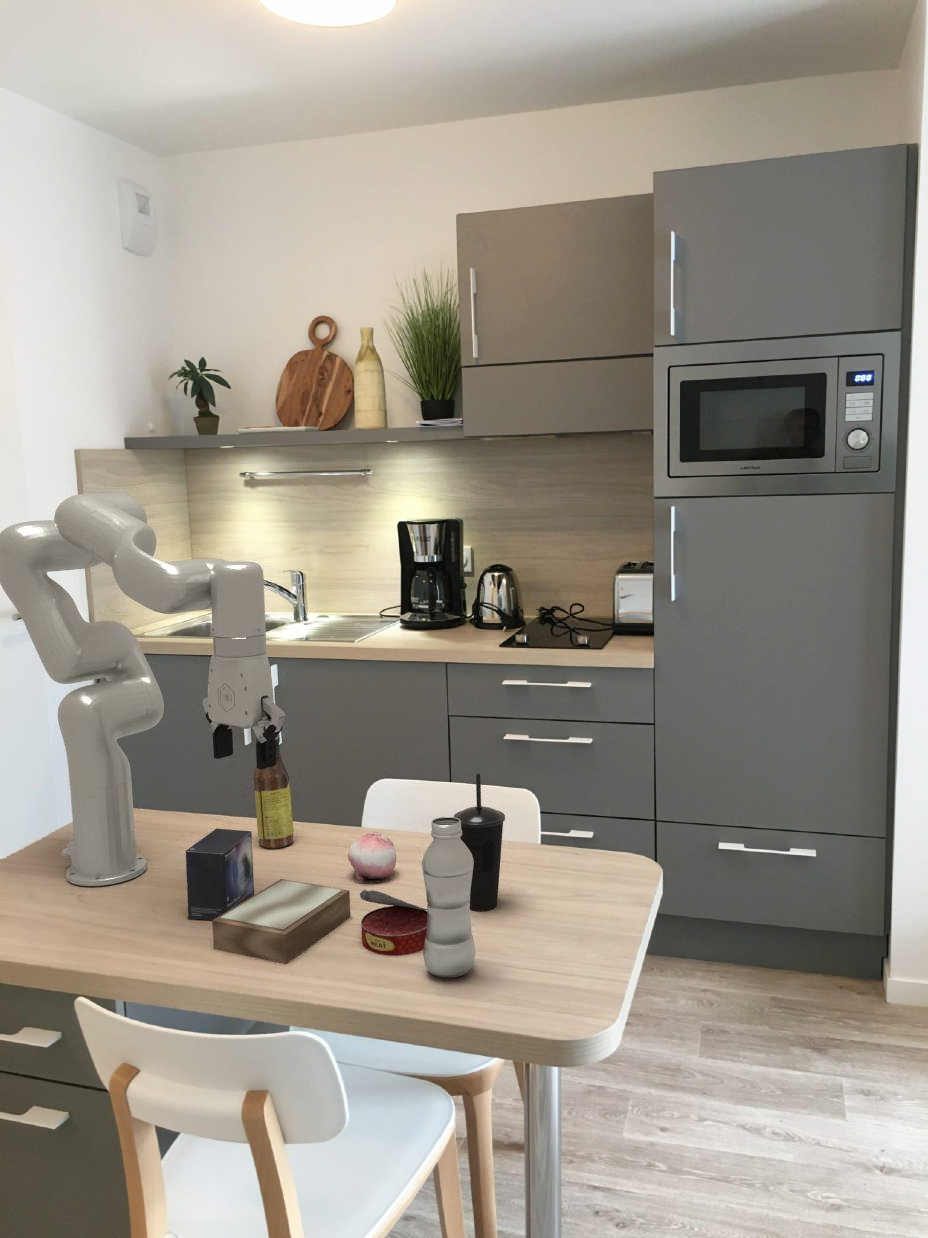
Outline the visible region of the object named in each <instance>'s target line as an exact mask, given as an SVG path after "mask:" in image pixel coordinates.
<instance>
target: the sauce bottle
mask: <svg viewBox="0 0 928 1238" xmlns="http://www.w3.org/2000/svg"><path fill="white" fill-rule="evenodd" d="M278 735H279V737H278V739H275V740H276V765H275V766H272V767H268V768H265V769H262V770H260V769H258V768H257V767H255V770H254V772H253V782H254V783H253V785H254V789H253V790H254V801H255V814H256V826H257V837H258V843H259V845H260V846H261V847H263V848H266V849H280V848H284V847H286V846H288V845H291V844H293V841H294V832H295V830H294V821H293V804H292V795H291V783H290V782H291V781H290V776H289V773H288V771H287V769H286V766H285V764H284V761H283V759H282V757H281V749H280V741H281V738H280V733H279V734H278ZM255 737H256V738H255V739H256V741H255V743H256V742H259V740H258V738H257V736H256V735H255Z"/></svg>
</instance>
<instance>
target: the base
mask: <svg viewBox="0 0 928 1238" xmlns="http://www.w3.org/2000/svg"><path fill="white" fill-rule="evenodd" d="M350 894H351V893H350V889H349V890H348V889H343V888H338V887H331V886H326V885H321V884H314V883H307V882H304V881H303V882H301V881H295V880H291V879H290V880H289V879H283V878H280V879H279V880H277V881H275V882H274V883H272V884H270V885H269V886H267V887H265V888H264V889H262V890H260V891H259V892H257V893H254V895H253V896H252V897H250V898H249V899H247V900H245V901H244V902H242V903H240V904H239V905H237V906H235V907H234V908H232V909H230V910H229V911H227V912H225V913H224V914H222V915H220V916H219V917H217V918H215V919H214V920H211V921H212V924H211V925H212V937H213V938H212V940H213V949H215V950H220V951H225V952H229V953H234V954H240V955H244V956H249V957H253V958H258V959H263V960H267V961H271V962H273V961H274V962H278V963H282V964H289V963H290V962H291V961H292V960H293V959H295V958H296V957H298V956H299V955H300V954H302V953H303V952H304V951H306V950H307V949H309V948H310V947H312V946H313V945H314V944H315V943H317V942H318V941H319V940H321V939H322V938H323V937H325V936H326V935H328V934H329V933H330V932H332V931H333V930H334V929H336V928H338V927H339V926H340V925H341V924H343V923H344V922H345V921H347V920H348V919H349V918H351V917H352V915H351V897H350Z"/></svg>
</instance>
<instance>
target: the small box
mask: <svg viewBox="0 0 928 1238" xmlns="http://www.w3.org/2000/svg"><path fill="white" fill-rule="evenodd" d="M253 856H254V855H253V831H251V830H238V829H225V828H215V829H214V830H212V831H210V832H209V833H207V835H205V836H204V837H203V838H201V839H199V840H198V841H197V842H196V843H194V844H193V845H192V846H190V847H188V848H187V849H186V850H185V870H186V872H185V873H186V888H187V889H186V893H187V897H186V898H187V919H192V920H193V919H195V920H204V921H205V920H206V921H212V920H214V919H215V918H217V917H219V916H220V915H222V914H224V913H225V912H227V911H229V910H230V909H232V908H234V907H235V906H237V905H239V904H240V903H242V902H244V901H245V900H247V899H249V898H250V897H252V896H254V895H255V884H254V883H255V881H254V860H253Z"/></svg>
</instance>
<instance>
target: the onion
mask: <svg viewBox="0 0 928 1238" xmlns="http://www.w3.org/2000/svg"><path fill="white" fill-rule="evenodd" d="M347 858H348V861H349V863H350V865H351V866H352V869H354V875H355V879H354V880H355V884H367V881H366V880H370V879H371V880H375V881H372V882H371V881H370V882H368V884H375V883H376V884H377V883H380V882H381V883H382V881H381V880H383V879H385V878H387V877H389V876H390V875H391V874H392V873H393V872H394V869H395V868H396V864H397V851H396V848H395V845H394V842H393V841H392V840H391V839H390V838H389V836H387V835H385V834H382V833H379V832H377V831H374V832H373V833H367V834H364V835H361V836H360V837H359V838H357V839H356V840H355V841H354V842H353V843H352V844H351V846H350V847H349V849H348V853H347Z"/></svg>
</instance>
